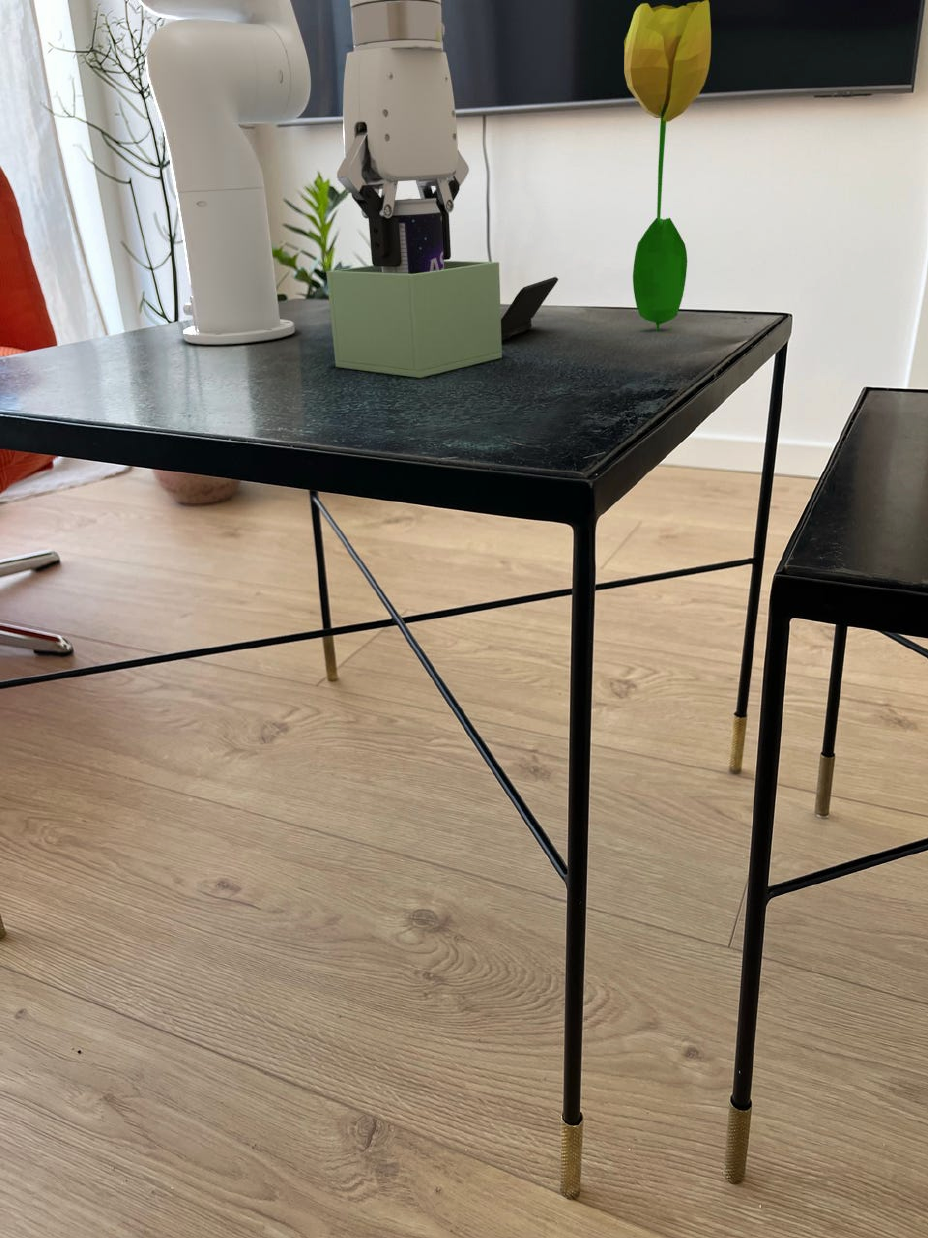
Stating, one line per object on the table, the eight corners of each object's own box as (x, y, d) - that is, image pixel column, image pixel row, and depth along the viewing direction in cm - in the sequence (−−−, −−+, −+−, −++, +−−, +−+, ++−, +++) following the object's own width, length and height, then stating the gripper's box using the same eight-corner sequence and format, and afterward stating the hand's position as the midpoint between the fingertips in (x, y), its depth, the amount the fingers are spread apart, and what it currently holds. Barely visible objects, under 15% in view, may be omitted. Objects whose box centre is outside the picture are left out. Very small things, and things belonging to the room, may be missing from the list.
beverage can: (440, 342, 89) (432, 199, 84) (380, 343, 90) (368, 202, 85) (453, 333, 94) (446, 197, 89) (396, 334, 95) (386, 199, 90)
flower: (617, 325, 108) (622, 9, 96) (691, 323, 107) (707, 3, 95) (620, 337, 101) (627, -5, 88) (700, 335, 100) (719, -12, 87)
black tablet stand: (463, 311, 111) (512, 237, 106) (514, 350, 112) (566, 278, 107) (437, 343, 102) (489, 263, 96) (492, 385, 103) (548, 308, 97)
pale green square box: (335, 367, 93) (326, 271, 89) (418, 348, 100) (412, 259, 97) (419, 378, 86) (413, 274, 82) (502, 357, 93) (499, 261, 90)
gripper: (435, 44, 90) (446, 253, 97) (288, 32, 78) (313, 271, 86) (498, 33, 85) (504, 254, 93) (350, 20, 74) (371, 273, 81)
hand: (412, 260), depth 89 cm, fingers closed on beverage can, 5 cm apart
